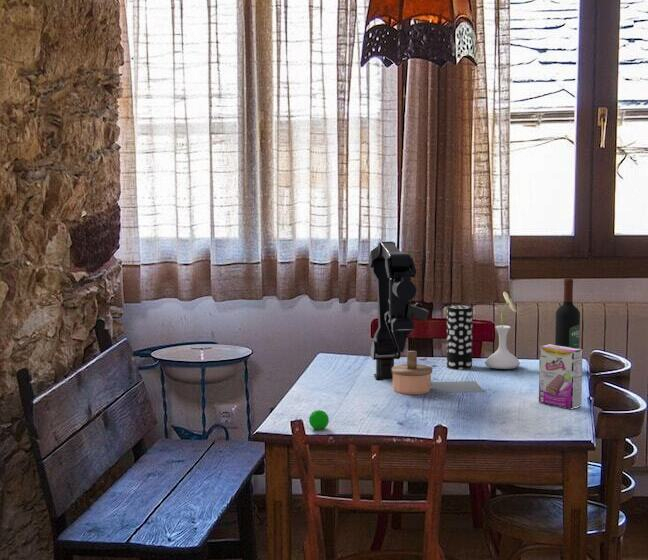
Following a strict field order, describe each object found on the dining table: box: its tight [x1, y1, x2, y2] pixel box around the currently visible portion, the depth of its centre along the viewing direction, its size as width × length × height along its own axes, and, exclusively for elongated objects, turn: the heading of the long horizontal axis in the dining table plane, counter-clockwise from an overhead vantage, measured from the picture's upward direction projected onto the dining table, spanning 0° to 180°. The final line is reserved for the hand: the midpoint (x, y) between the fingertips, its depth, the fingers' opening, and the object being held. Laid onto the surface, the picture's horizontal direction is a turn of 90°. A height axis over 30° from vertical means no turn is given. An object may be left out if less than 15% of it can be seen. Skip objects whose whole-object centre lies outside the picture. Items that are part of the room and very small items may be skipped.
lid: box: [392, 350, 433, 376], centre depth 302 cm, size 12×12×6 cm
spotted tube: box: [446, 304, 474, 371], centre depth 336 cm, size 8×8×20 cm
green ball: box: [308, 409, 330, 431], centre depth 262 cm, size 5×5×5 cm
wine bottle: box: [554, 278, 581, 349], centre depth 326 cm, size 8×8×30 cm
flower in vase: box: [484, 291, 521, 370], centre depth 334 cm, size 13×11×25 cm
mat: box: [431, 380, 485, 394], centre depth 307 cm, size 14×14×1 cm
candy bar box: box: [538, 343, 584, 409], centre depth 284 cm, size 11×5×16 cm, turn 44°
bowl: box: [392, 373, 432, 395], centre depth 303 cm, size 11×11×6 cm
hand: (399, 349), depth 299 cm, fingers open, 9 cm apart
